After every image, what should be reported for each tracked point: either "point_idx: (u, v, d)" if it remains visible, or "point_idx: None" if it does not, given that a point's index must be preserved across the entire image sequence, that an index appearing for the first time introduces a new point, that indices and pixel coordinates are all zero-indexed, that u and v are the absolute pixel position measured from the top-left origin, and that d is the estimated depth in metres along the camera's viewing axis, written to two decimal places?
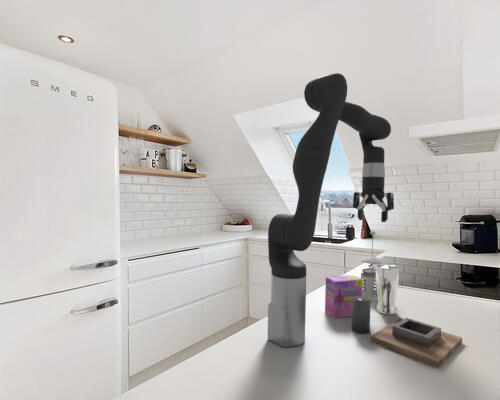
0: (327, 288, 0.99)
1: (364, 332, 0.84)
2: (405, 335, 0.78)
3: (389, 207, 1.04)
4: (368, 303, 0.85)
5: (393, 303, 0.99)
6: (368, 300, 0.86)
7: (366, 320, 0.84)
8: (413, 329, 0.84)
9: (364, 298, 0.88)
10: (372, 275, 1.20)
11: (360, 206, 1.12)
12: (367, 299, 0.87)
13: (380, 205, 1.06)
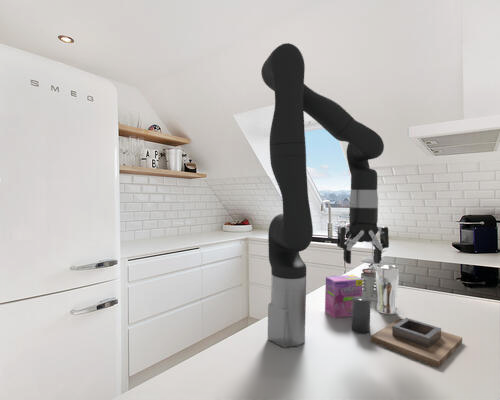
0: (327, 288, 0.99)
1: (364, 332, 0.84)
2: (405, 335, 0.78)
3: (387, 245, 0.86)
4: (368, 303, 0.85)
5: (393, 303, 0.99)
6: (368, 300, 0.86)
7: (366, 320, 0.84)
8: (413, 329, 0.84)
9: (364, 298, 0.88)
10: (372, 275, 1.20)
11: (351, 245, 0.85)
12: (367, 299, 0.87)
13: (377, 243, 0.85)
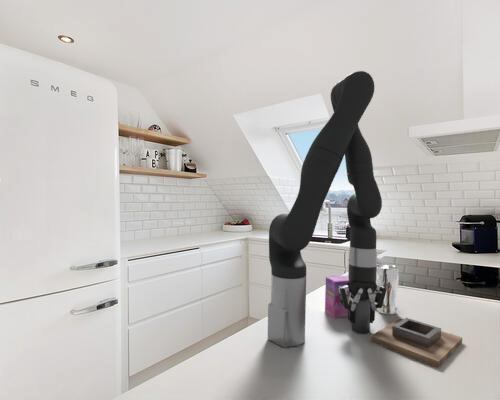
0: (327, 288, 0.99)
1: (364, 332, 0.84)
2: (405, 335, 0.78)
3: (380, 305, 0.86)
4: (368, 303, 0.85)
5: (393, 303, 0.99)
6: (368, 300, 0.86)
7: (366, 320, 0.84)
8: (413, 329, 0.84)
9: None
10: None
11: (354, 305, 0.85)
12: (367, 299, 0.87)
13: (372, 302, 0.86)
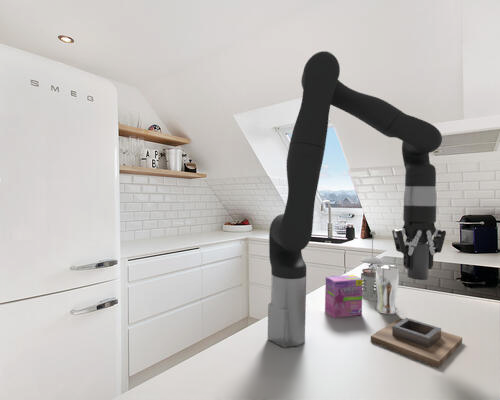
0: (327, 288, 0.99)
1: (423, 277, 0.78)
2: (405, 335, 0.78)
3: (440, 249, 0.79)
4: (427, 246, 0.78)
5: (393, 303, 0.99)
6: (426, 244, 0.79)
7: (425, 264, 0.78)
8: (413, 329, 0.84)
9: None
10: (372, 275, 1.20)
11: (411, 249, 0.78)
12: (424, 243, 0.80)
13: (431, 246, 0.79)
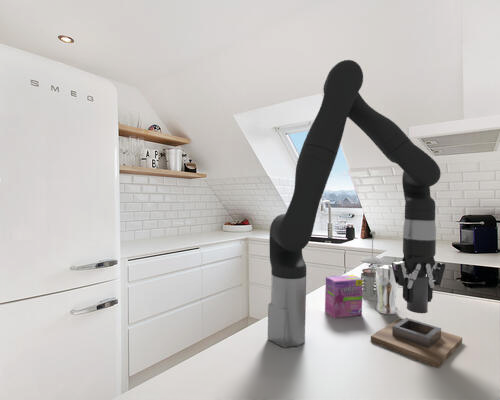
0: (327, 288, 0.99)
1: (422, 311, 0.78)
2: (405, 335, 0.78)
3: (439, 282, 0.79)
4: (426, 280, 0.78)
5: (393, 303, 0.99)
6: (426, 277, 0.79)
7: (424, 297, 0.78)
8: (413, 329, 0.84)
9: (420, 275, 0.81)
10: (372, 275, 1.20)
11: (411, 282, 0.79)
12: (424, 276, 0.80)
13: (430, 279, 0.79)
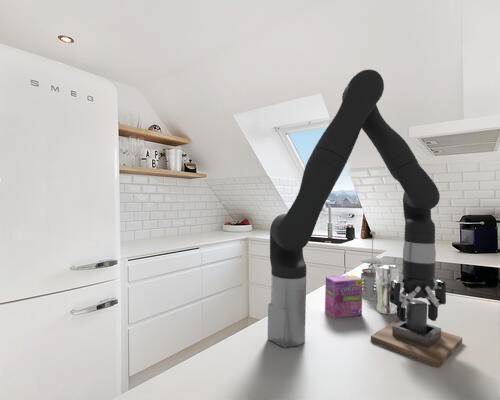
0: (327, 288, 0.99)
1: None
2: (405, 335, 0.78)
3: (444, 301, 0.80)
4: (425, 307, 0.78)
5: None
6: (424, 304, 0.79)
7: (423, 325, 0.78)
8: None
9: (419, 301, 0.81)
10: (372, 275, 1.20)
11: (406, 302, 0.78)
12: (422, 302, 0.80)
13: (434, 299, 0.79)
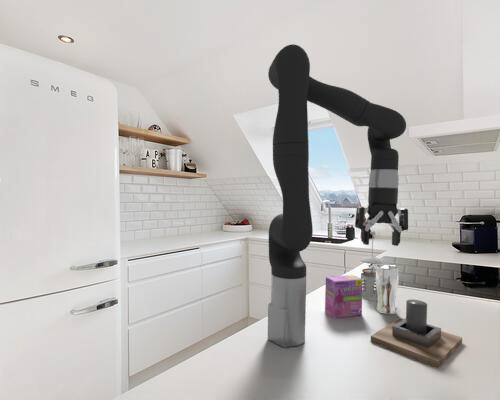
0: (327, 288, 0.99)
1: None
2: (405, 335, 0.78)
3: (406, 227, 0.84)
4: (425, 307, 0.78)
5: (393, 303, 0.99)
6: (424, 303, 0.79)
7: (423, 325, 0.78)
8: None
9: (419, 301, 0.81)
10: (372, 275, 1.20)
11: (369, 226, 0.83)
12: (422, 302, 0.80)
13: (396, 225, 0.84)
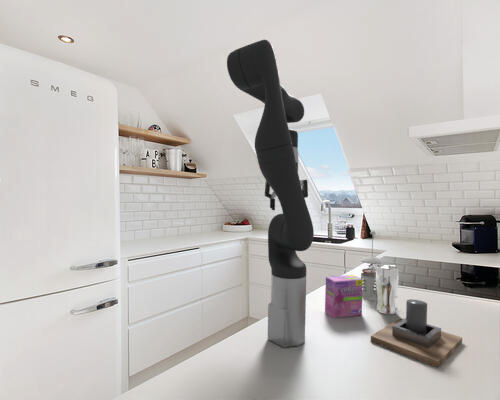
0: (327, 288, 0.99)
1: None
2: (405, 335, 0.78)
3: (306, 195, 1.01)
4: (425, 307, 0.78)
5: (393, 303, 0.99)
6: (424, 303, 0.79)
7: (423, 325, 0.78)
8: None
9: (419, 301, 0.81)
10: (372, 275, 1.20)
11: (274, 194, 1.00)
12: (422, 302, 0.80)
13: None
